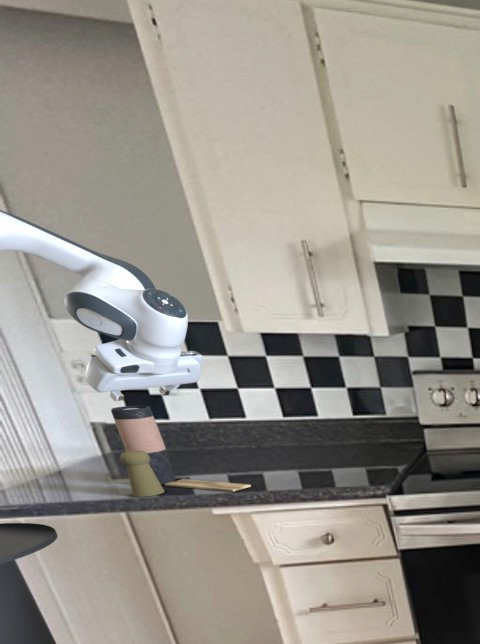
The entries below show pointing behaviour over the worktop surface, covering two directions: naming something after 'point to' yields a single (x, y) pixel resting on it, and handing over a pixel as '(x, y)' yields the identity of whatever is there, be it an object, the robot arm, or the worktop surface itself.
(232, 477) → the worktop surface
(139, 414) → the travel mug
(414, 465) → the worktop surface
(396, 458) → the worktop surface
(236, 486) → the strip
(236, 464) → the worktop surface
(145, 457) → the olive green tapered cylinder
